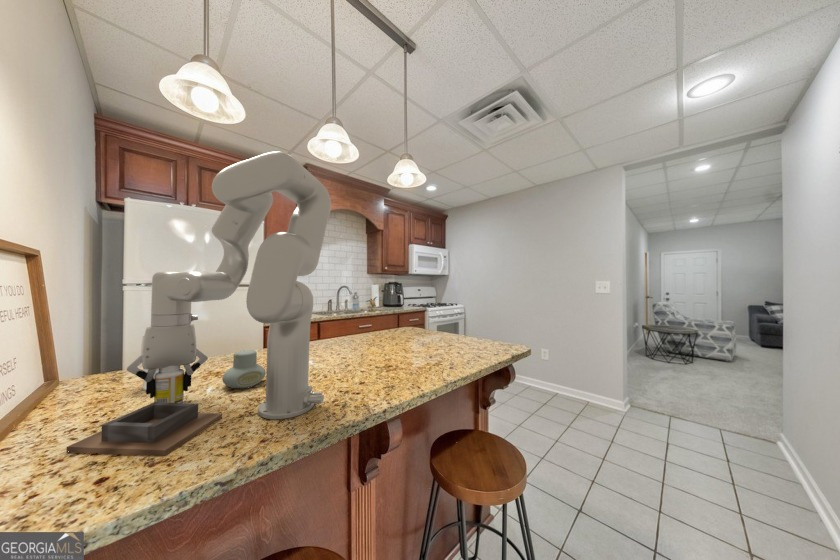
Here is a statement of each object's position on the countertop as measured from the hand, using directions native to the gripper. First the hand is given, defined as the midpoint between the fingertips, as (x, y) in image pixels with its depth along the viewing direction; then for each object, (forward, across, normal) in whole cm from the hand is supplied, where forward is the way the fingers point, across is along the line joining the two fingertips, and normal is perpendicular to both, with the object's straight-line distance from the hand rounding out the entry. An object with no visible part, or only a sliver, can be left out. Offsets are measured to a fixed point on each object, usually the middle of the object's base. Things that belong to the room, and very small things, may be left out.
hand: (169, 392), depth 70 cm
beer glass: (+3, +2, -18) cm, 18 cm away
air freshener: (+3, -17, -3) cm, 18 cm away
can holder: (+3, +3, +16) cm, 16 cm away
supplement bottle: (+3, 0, 0) cm, 3 cm away
